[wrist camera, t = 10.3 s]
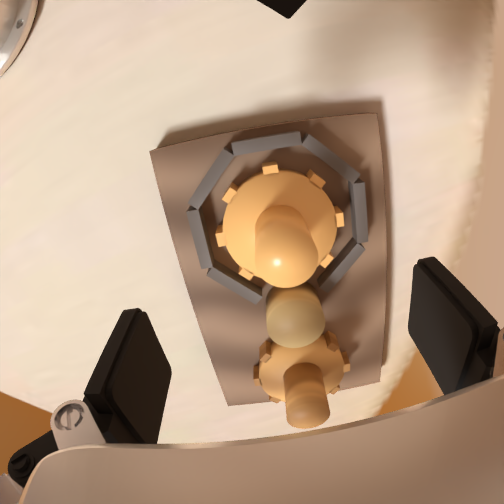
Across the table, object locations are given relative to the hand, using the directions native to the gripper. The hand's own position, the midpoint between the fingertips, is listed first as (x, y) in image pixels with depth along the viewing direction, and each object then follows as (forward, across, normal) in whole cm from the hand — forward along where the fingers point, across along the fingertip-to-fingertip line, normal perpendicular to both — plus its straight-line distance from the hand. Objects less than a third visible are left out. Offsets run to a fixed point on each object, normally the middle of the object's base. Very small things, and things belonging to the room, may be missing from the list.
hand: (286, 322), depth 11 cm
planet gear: (+12, -1, +1) cm, 12 cm away
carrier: (+13, -1, +7) cm, 15 cm away
